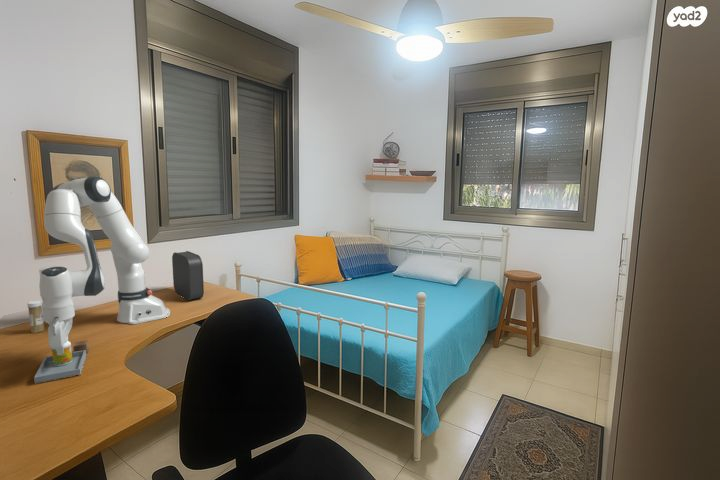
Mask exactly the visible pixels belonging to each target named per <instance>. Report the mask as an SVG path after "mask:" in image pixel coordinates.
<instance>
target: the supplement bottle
mask: <svg viewBox="0 0 720 480" xmlns="http://www.w3.org/2000/svg"><path fill="white" fill-rule="evenodd" d="M63 348H64V354H63V355H57V351H56V349H55V348H52V349H51V352H52V356H53V363H54V365H55V366H63V365H66V364H69V363H71V362H72V352H73V350H72V343H71V341H69V335H68V336H67V338H66V340H65V343H64V345H63Z"/></svg>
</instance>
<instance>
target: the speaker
mask: <svg viewBox="0 0 720 480" xmlns="http://www.w3.org/2000/svg"><path fill="white" fill-rule="evenodd" d="M171 257H172V258H171V261H172V265H171V266H172V278H173V279H172V280H173V282H172V283H173V289H174V292H175V293H177V294H176V295H178V296H179V295H180V296H179V297H181V296H182V297H184V298H185V300H186V299H187V300H186V301H188V300H189V301H191V300H196V299H202V298H203V297H204V294H205V293H204V292H205V289H204V287H205V286H204V265H203V260H202V258H201V256H200V255H199V254H196V253H194V252H191V251H188V250H186V251H181V252H173V253H172V256H171ZM182 297H181V298H182ZM184 298H183V299H184Z"/></svg>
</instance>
